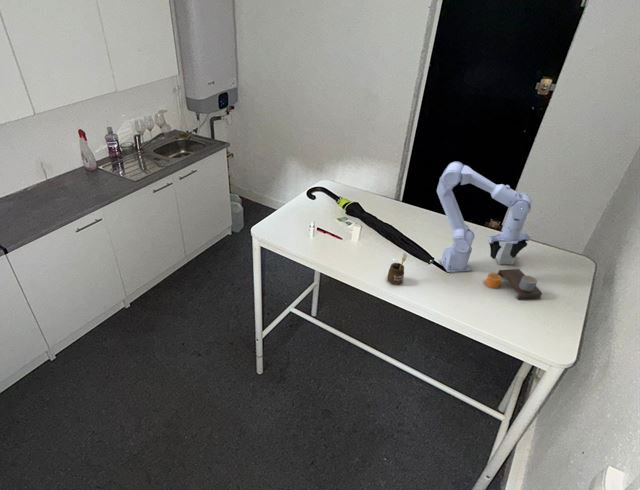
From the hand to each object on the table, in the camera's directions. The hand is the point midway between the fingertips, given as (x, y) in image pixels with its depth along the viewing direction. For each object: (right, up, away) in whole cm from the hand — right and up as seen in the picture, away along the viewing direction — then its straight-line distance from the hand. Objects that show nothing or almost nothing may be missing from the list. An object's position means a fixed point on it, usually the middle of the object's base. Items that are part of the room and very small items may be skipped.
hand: (502, 256), depth 156 cm
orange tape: (-3, -11, +1) cm, 11 cm away
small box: (+9, -1, +14) cm, 17 cm away
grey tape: (+6, -11, -5) cm, 14 cm away
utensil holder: (-39, -10, +6) cm, 41 cm away
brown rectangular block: (+6, -11, 0) cm, 13 cm away
